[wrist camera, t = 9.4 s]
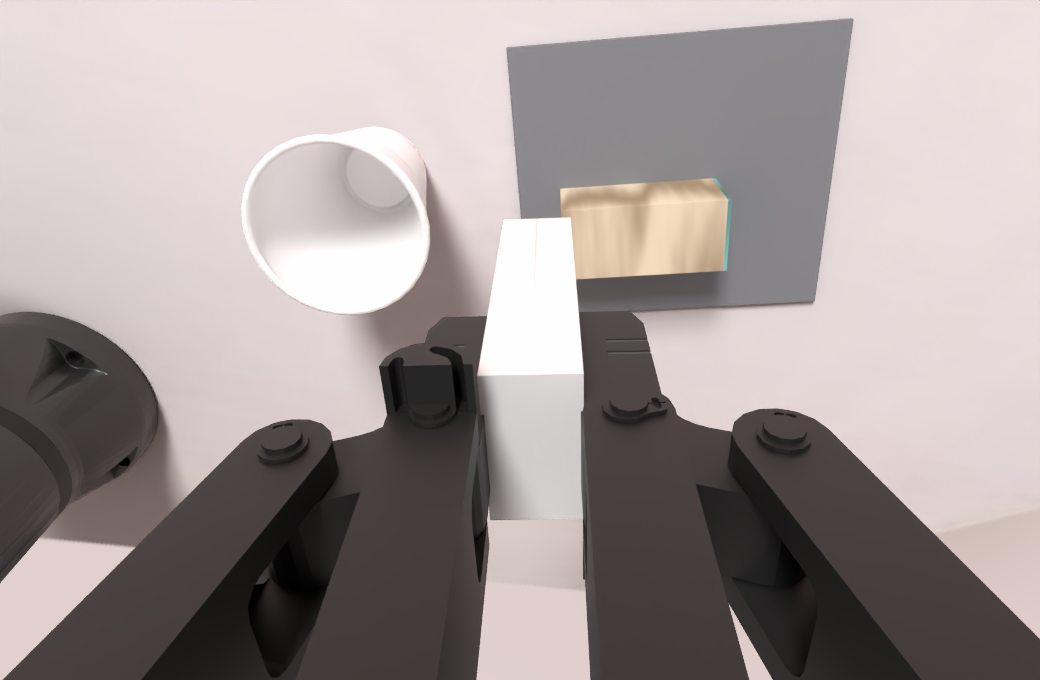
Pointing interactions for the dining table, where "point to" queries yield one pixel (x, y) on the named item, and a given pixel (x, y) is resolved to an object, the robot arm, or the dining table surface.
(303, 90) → the dining table surface
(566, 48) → the mat
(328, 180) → the cup
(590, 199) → the beech block
